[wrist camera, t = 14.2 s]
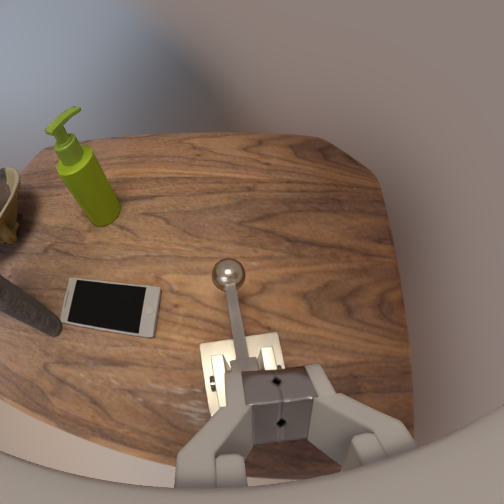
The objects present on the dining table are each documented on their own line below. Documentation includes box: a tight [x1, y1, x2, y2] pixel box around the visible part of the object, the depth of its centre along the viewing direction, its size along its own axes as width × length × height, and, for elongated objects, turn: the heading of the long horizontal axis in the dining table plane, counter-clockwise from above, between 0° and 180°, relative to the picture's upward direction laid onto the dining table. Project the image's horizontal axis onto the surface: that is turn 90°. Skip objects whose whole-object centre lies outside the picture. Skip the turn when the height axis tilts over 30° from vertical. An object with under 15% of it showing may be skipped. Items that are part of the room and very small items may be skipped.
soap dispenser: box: [45, 106, 121, 226], centre depth 38 cm, size 6×7×20 cm
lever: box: [212, 258, 259, 372], centre depth 28 cm, size 15×4×4 cm, turn 10°
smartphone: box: [60, 278, 161, 338], centre depth 39 cm, size 7×16×1 cm, turn 87°
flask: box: [0, 275, 62, 336], centre depth 30 cm, size 4×14×18 cm, turn 69°
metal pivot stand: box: [199, 331, 285, 417], centre depth 29 cm, size 12×10×15 cm
